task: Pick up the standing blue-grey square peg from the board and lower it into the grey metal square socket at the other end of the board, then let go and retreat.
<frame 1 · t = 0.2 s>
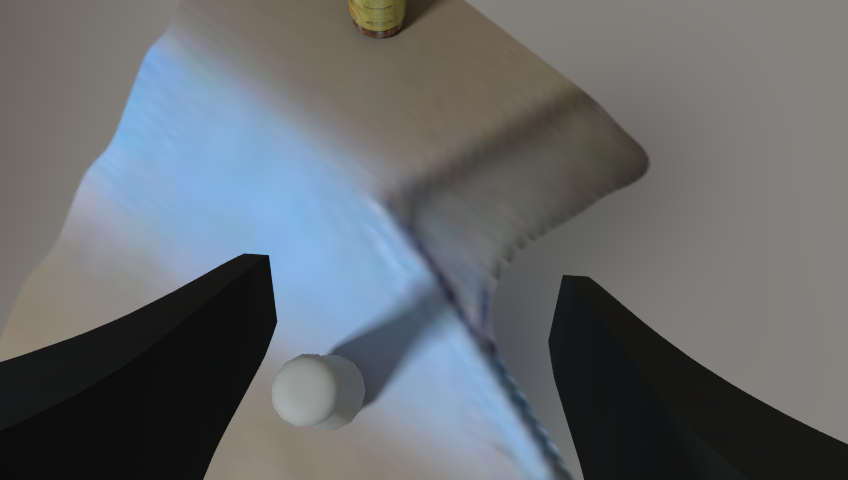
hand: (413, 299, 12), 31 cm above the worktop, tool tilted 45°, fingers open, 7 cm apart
salt shaker: (333, 391, 40), on the worktop
sauce bottle: (378, 22, 53), on the worktop
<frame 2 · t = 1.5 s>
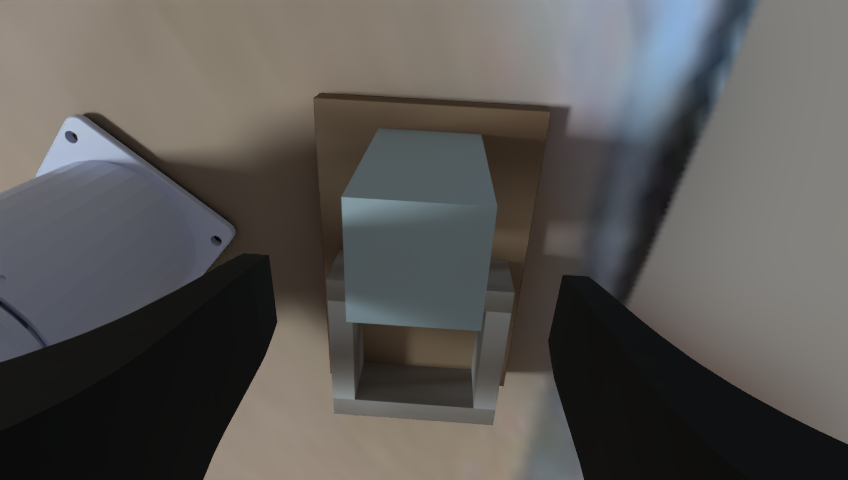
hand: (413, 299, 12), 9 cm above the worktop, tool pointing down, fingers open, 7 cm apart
board: (423, 252, 22), on the worktop
peg: (427, 179, 19), point 1 cm above the worktop, touching board
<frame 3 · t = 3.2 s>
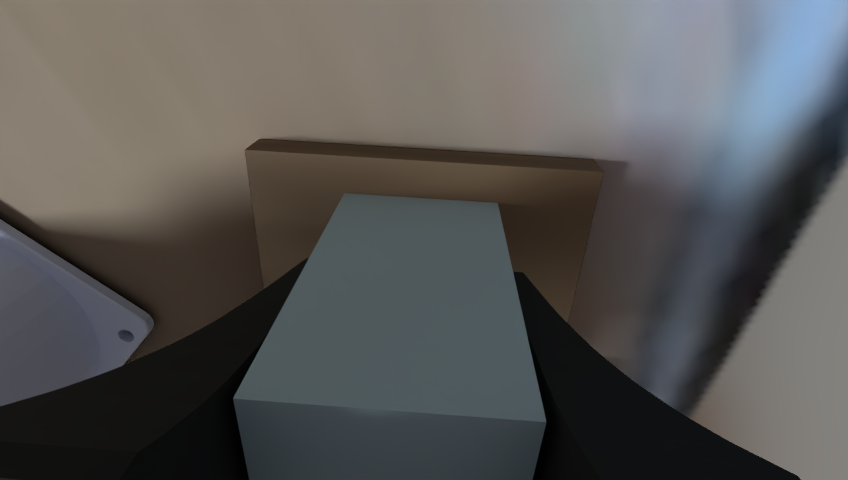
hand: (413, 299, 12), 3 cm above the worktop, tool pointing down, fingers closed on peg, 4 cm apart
board: (414, 350, 16), on the worktop
peg: (417, 264, 13), point 1 cm above the worktop, touching board, gripper
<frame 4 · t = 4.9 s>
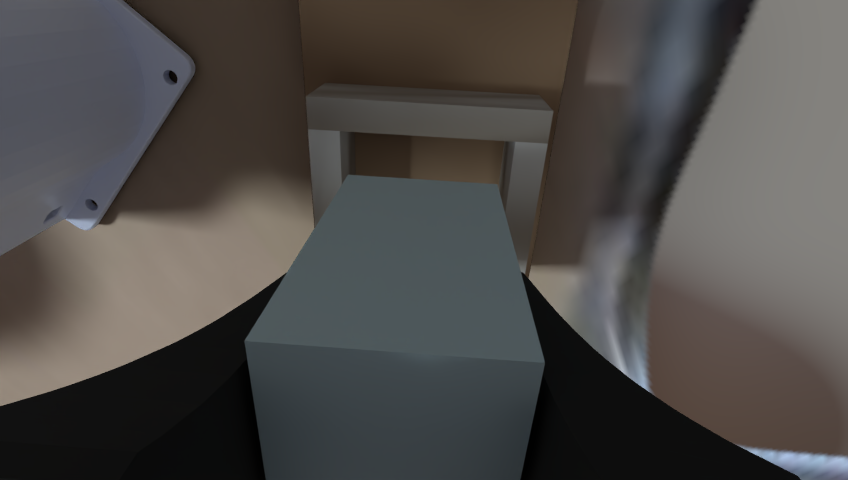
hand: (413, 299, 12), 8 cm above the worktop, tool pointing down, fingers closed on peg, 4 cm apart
board: (432, 96, 17), on the worktop
peg: (419, 245, 13), point 6 cm above the worktop, touching gripper
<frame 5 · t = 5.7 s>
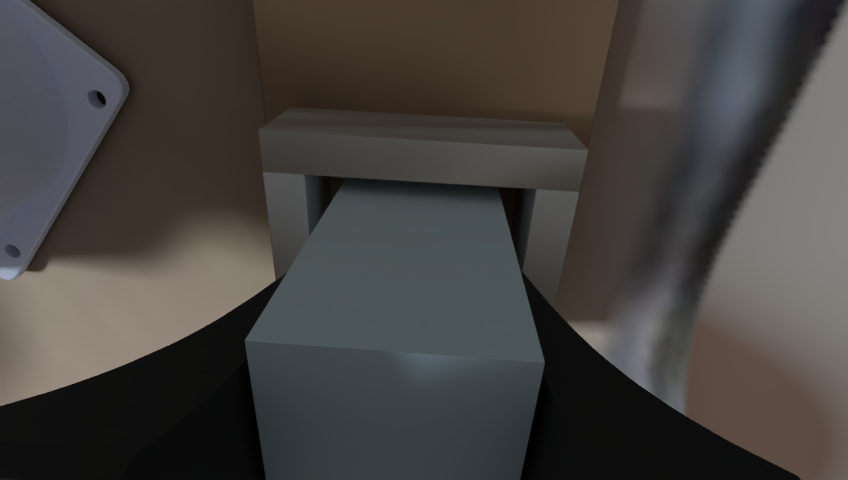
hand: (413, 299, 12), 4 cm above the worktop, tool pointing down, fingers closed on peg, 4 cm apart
board: (427, 122, 14), on the worktop
peg: (419, 245, 13), point 2 cm above the worktop, touching gripper
when the fingers open (4 cm above the worktop, at t = 6.6 s): peg stays where it is, resting on board.
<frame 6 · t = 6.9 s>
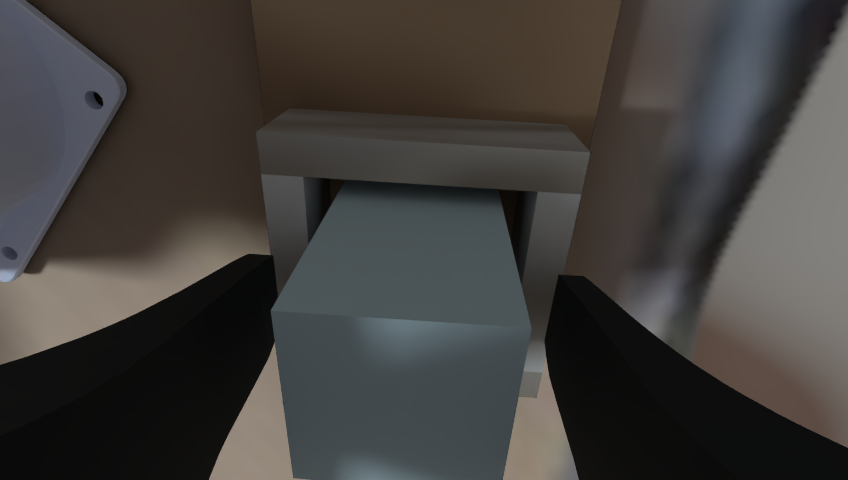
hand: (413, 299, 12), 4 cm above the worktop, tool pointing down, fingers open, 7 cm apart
board: (427, 124, 14), on the worktop
peg: (421, 231, 14), point 1 cm above the worktop, touching board
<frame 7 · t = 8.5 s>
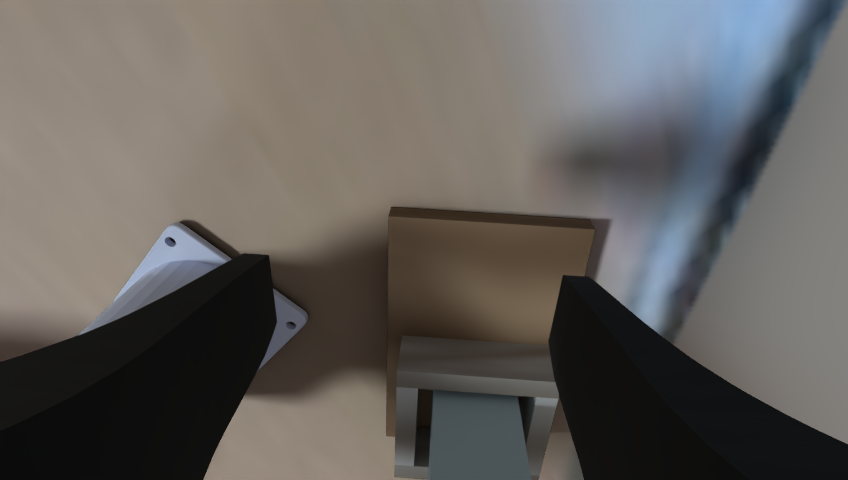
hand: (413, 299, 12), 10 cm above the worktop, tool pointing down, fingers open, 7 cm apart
board: (474, 334, 24), on the worktop
peg: (470, 391, 25), point 1 cm above the worktop, touching board
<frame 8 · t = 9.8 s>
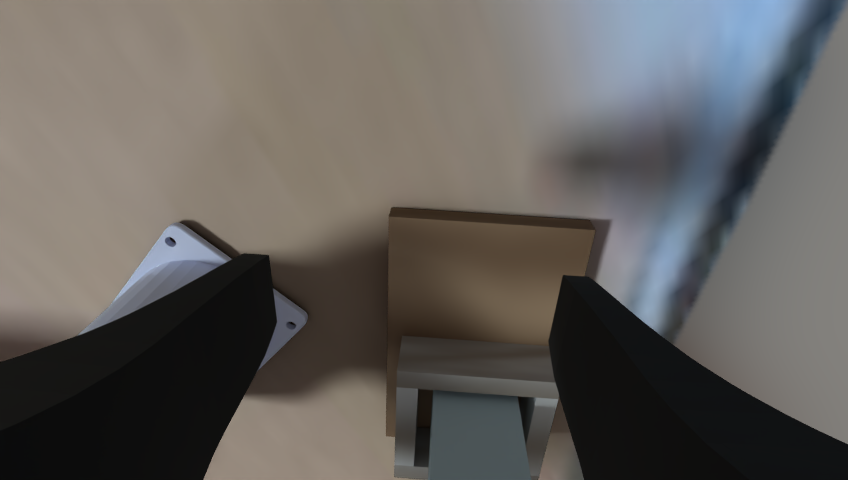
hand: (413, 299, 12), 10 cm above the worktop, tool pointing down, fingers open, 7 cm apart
board: (474, 335, 24), on the worktop
peg: (470, 391, 25), point 1 cm above the worktop, touching board
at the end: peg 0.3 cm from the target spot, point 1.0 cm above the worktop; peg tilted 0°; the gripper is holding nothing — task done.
